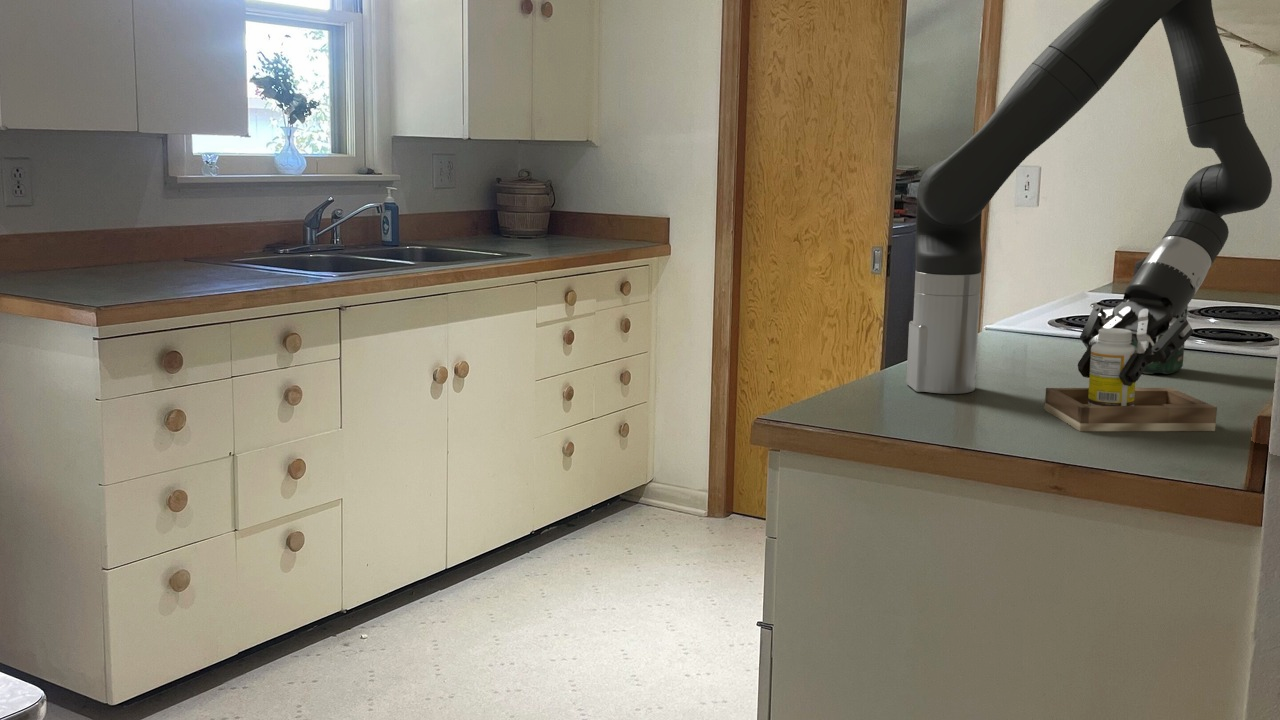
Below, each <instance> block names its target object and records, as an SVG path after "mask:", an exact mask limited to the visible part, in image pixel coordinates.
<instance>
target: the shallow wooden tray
mask: <svg viewBox="0 0 1280 720" xmlns="http://www.w3.org/2000/svg"><path fill="white" fill-rule="evenodd" d="M1088 394H1089V387H1046V388H1045V399H1044V410H1045V411H1046V412H1048V413H1049V412H1050V413H1049V414H1051V415H1052V414H1053V415H1052V416H1054V417H1056V418H1057V417H1058V418H1057V419H1059V420H1060V421H1062V422H1064V423H1065V424H1067V423H1068V424H1067V425H1069V426H1070V425H1071V426H1070V427H1072V428H1074V429H1075V430H1077V431H1078V432H1215V431H1216V425H1217V423H1216V422H1217V414H1218V413H1217V412H1218V407H1217V406H1214V405H1213V404H1211V403H1208V402H1205V401H1204V400H1200V399H1199V398H1196V397H1193V396H1191V395H1189V394H1187V393H1185V392H1182V391H1180V390H1178V389H1176V388H1175V389H1174V388H1173V387H1135V398H1134V406H1090V405H1089V403H1088Z"/></svg>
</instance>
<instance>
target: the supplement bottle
mask: <svg viewBox="0 0 1280 720" xmlns="http://www.w3.org/2000/svg"><path fill="white" fill-rule="evenodd" d="M1131 340H1132V331H1130V330H1127V329H1119V328H1103V329H1099V333H1098V342H1099V343H1096V344H1094V345H1093V346H1092V347H1091V358H1090V377H1089V378H1088V379H1089V380H1088V388H1089V394H1088V403H1089V405H1090V406H1134V398H1135V388H1136V382H1135V383H1133V384H1132V385H1131V386H1127V385H1124V384H1123V383H1122V381H1121V380H1120V378H1119V374H1120V372H1121V371H1122V369H1123V368H1124V366H1125V365H1126V363H1127V362H1128V360H1129V359H1130V357H1131V356H1132V354H1137V351H1136V350H1137V348H1136V347H1135V346H1134V345H1131V344H1130V343H1131Z"/></svg>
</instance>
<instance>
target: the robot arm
mask: <svg viewBox="0 0 1280 720" xmlns="http://www.w3.org/2000/svg"><path fill="white" fill-rule="evenodd" d="M1214 15H1215V14H1214V9H1213V2H1212V0H1098V1H1097V2H1095V3H1094V4H1093V5H1092V6H1091V7H1090V8H1089V9H1087V10H1086V11H1085V12H1084V13H1082V14H1081V15H1080V16H1079V17H1078V18H1077V19H1076V20H1074V21H1073V22H1072V23H1071V24H1070V25H1069V26H1068V27H1066V28H1065V30H1063V32H1062V33H1060V34H1059V35H1058V36H1057V37H1056V38H1055V39H1053V40H1052V42H1051V43H1050V44H1049V45H1047V47H1046V48H1044V50H1043V51H1041V53H1040V54H1039V55H1038V56H1037V57H1036V58H1035V59H1034V60H1033V61H1032V62H1031V63H1030V65H1029V66H1028V67H1027V68H1026V69H1025V70H1024V71H1023V73H1022V74H1021V75H1020V76H1019V77H1018V79H1017V80H1016V81H1015V82H1014V83H1013V85H1012V86H1011V88H1009V91H1008V92H1007V93H1006V94H1005V95H1004V97H1003V98H1002V100H1001V101H1000V103H999V104H998V106H997V108H996V109H995V110H994V112H993V113H992V115H991V116H990V117H989V119H988V120H987V121H986V122H985V123H984V125H982V126H981V128H980V129H978V130H977V132H976V133H974V134H973V135H972V136H971V137H970V138H968V140H967V141H965V142H964V143H963V144H962V145H961V146H960V147H959V148H958V149H956V150H955V151H954V152H953V153H952V154H950V155H949V156H948V157H947V158H946V159H944V160H940V161H938V162H935V163H934V164H932V165H931V166H930V167H928V168H927V169H926V170H925V172H924V173H923V174H922V176H921V178H920V181H919V183H918V186H917V193H916V194H917V197H916V212H915V213H916V218H915V240H914V242H915V243H914V244H915V245H914V247H915V275H914V277H915V278H914V292H913V293H914V294H913V296H914V297H913V315H912V316H913V319H912V320H910V321H909V323H908V341H907V342H908V344H907V361H906V362H907V364H906V365H907V366H906V382H905V383H906V384H907V385H908V386H909V387H910V388H911V389H912V390H914V392H917V393H918V392H919V393H922V392H923V393H924V392H926V393H932V394H933V393H934V394H946V395H947V394H948V395H949V394H950V395H951V394H953V395H955V394H966V393H972V392H974V391H975V389H976V388H975V387H976V378H977V373H976V372H977V355H978V339H979V338H978V337H979V319H980V305H981V303H980V301H981V286H982V284H981V283H982V268H983V265H982V264H983V254H982V253H983V252H982V238H981V237H982V236H981V235H982V218H983V217H982V215H983V214H982V213H983V210H984V209H985V207H987V205H988V204H989V202H990V201H991V200H992V199H993V197H994V196H995V195H996V193H997V192H998V191H999V190H1000V188H1001V187H1002V186H1003V184H1005V182H1006V181H1007V180H1008V179H1009V178H1010V176H1012V175H1013V173H1014V172H1015V170H1016V169H1017V168H1018V167H1019V166H1020V165H1021V163H1022V162H1024V161H1025V160H1026V159H1027V157H1029V156H1030V155H1031V154H1032V153H1033V152H1035V151H1036V150H1037V149H1038V148H1040V147H1041V146H1042V145H1043V144H1044V143H1045V142H1047V141H1048V140H1049V139H1050V138H1051V137H1052V136H1053V135H1055V134H1056V133H1057V132H1058V131H1059V130H1060V129H1061V128H1063V127H1064V125H1066V124H1067V123H1068V122H1069V121H1070V120H1071V119H1072V118H1073V117H1074V116H1075V115H1076V114H1077V113H1078V112H1079V111H1081V110H1082V109H1083V107H1084V106H1086V104H1087V103H1089V101H1091V99H1093V98H1094V96H1096V94H1097V93H1098V92H1100V91H1101V89H1102V88H1103V87H1104V86H1105V85H1106V84H1107V83H1108V82H1109V81H1110V80H1111V78H1112V77H1113V76H1114V74H1115V73H1116V72H1117V71H1118V70H1119V69H1120V67H1121V66H1122V65H1123V64H1124V62H1126V60H1127V59H1128V58H1129V57H1130V56H1131V54H1132V52H1133V51H1134V50H1135V49H1136V48H1137V47H1138V45H1139V44H1140V42H1141V41H1142V40H1143V38H1145V36H1146V35H1147V34H1148V33H1149V31H1150V30H1151V29H1152V28H1153V27H1154V25H1156V24H1157V23H1158V22H1159V21H1160V20H1161V22H1162V26H1163V28H1164V29H1163V30H1164V32H1165V35H1166V38H1167V42H1168V45H1169V49H1170V53H1171V58H1172V61H1173V66H1174V71H1175V75H1176V76H1175V77H1176V82H1177V86H1178V90H1179V91H1178V92H1179V97H1180V102H1181V107H1182V112H1183V117H1184V121H1185V127H1186V131H1187V135H1188V139H1189V141H1190V143H1191V145H1192V146H1193V147H1195V148H1198V149H1199V148H1200V149H1211V150H1213V151H1214V152H1215V155H1216V156H1217V158H1218V159H1219V161H1220V163H1216V164H1211V165H1208V166H1205V167H1203V168H1200V169H1199V170H1197V171H1196V172H1195V173H1194V174H1193V175H1192V176H1191V177H1190V178H1189V179H1188V180H1187V182H1186V184H1185V186H1184V188H1183V192H1182V193H1181V194H1182V195H1181V197H1180V201H1179V203H1178V207H1177V211H1176V215H1175V218H1174V221H1173V222H1172V223H1171V224H1170V226H1169V228H1167V231H1166V232H1165V234H1164V235H1163V237H1162V238H1161V240H1160V241H1159V242H1158V243H1157V244H1156V245H1155V246H1154V248H1153V249H1151V251H1150V252H1149V254H1148V255H1147V256H1146V257H1147V258H1146V257H1145V258H1146V260H1145V261H1144V263H1143V264H1142V266H1141V267H1140V269H1139V270H1138V272H1137V273H1136V274H1135V276H1133V277H1132V279H1131V280H1130V282H1129V283H1128V284H1127V286H1126V288H1125V289H1124V290H1125V291H1124V294H1123V299H1122V301H1121V302H1120V303H1118V305H1116V306H1115V307H1114V308H1113V309H1103V307H1102V306H1101V305H1096V306H1094V307H1093V308H1092V310H1091V312H1090V314H1089V316H1088V318H1087V320H1086V323H1085V325H1084V327H1083V329H1082V331H1081V334H1080V335H1079V339H1080V341H1081V342H1082V343H1083V345H1084V347H1085V348H1086V350H1085V352H1084V353H1083V355H1082V356H1081V358H1080V360H1079V361H1078V362H1077V369H1078V372H1079V373H1080V375H1081V376H1082V377H1083V378H1088V379H1089V377H1090V358H1091V347H1092V346H1093V345H1094V344H1096V343H1099V342H1098V333H1099V329H1103V328H1119V329H1127V330H1130V331H1132V340H1131V341H1135V342H1137V350H1136V351H1137V354H1132V356H1131V357H1130V359H1129V360H1128V362H1127V363H1126V365H1125V366H1124V368H1123V369H1122V371H1121V372H1120V374H1119V378H1120V380H1121V381H1122V383H1123V384H1124V385H1127V386H1131V385H1132V384H1133V383H1135V384H1136V382H1137V381H1138V380H1139V379H1140V377H1141V376H1142V374H1144V373H1143V371H1144V370H1145V368H1146V367H1147V365H1150V364H1152V363H1153V362H1157V361H1159V363H1161V364H1164V363H1166V362H1167V361H1168V360H1169V359H1170V358H1171V357H1172V356H1173V355H1174V354H1175V353H1176V351H1177V350H1178V349H1179V348H1180V347H1181V346H1182V345H1183V344H1184V345H1185V343H1186V342H1187V340H1188V339H1189V338H1190V337H1191V336H1192V335H1193V333H1194V329H1193V328H1192V326H1191V324H1190V322H1189V321H1188V318H1187V319H1186V318H1185V317H1180V316H1181V315H1182V313H1183V312H1184V310H1185V309H1186V307H1187V305H1188V306H1189V304H1190V302H1191V301H1192V299H1193V298H1194V296H1195V295H1196V293H1197V292H1198V290H1199V288H1200V287H1201V286H1202V284H1203V282H1205V279H1206V277H1207V275H1208V272H1209V270H1210V268H1211V267H1212V265H1213V264H1214V262H1215V260H1216V258H1217V257H1218V255H1219V254H1220V252H1221V251H1222V249H1223V248H1224V246H1225V244H1226V243H1227V240H1228V237H1229V227H1228V224H1227V223H1226V221H1225V220H1224V219H1223V218H1222V217H1223V216H1227V215H1233V214H1237V213H1243V212H1247V211H1253V210H1255V209H1256V210H1257V209H1259V208H1261V207H1262V206H1263V205H1264V204H1266V202H1267V201H1268V199H1269V198H1270V195H1271V192H1272V187H1273V186H1272V185H1273V183H1272V182H1273V177H1272V173H1271V170H1270V166H1269V164H1268V162H1267V160H1266V158H1265V156H1264V154H1263V153H1262V150H1261V148H1260V147H1259V144H1258V143H1257V141H1256V139H1255V137H1254V135H1253V133H1252V132H1251V130H1250V129H1249V126H1248V124H1247V122H1246V118H1245V113H1244V107H1243V103H1242V98H1241V94H1240V93H1241V92H1240V88H1239V84H1238V80H1237V76H1236V72H1235V70H1234V67H1233V64H1232V62H1231V60H1230V57H1229V55H1228V53H1227V50H1226V48H1225V46H1224V44H1223V42H1222V39H1221V37H1220V34H1219V31H1218V27H1217V24H1216V20H1215V16H1214ZM1164 332H1165V333H1164ZM1163 333H1164V334H1163ZM1161 334H1163V336H1162V337H1161V338H1160V339H1159V340H1158V337H1159V336H1160V335H1161ZM1184 342H1185V343H1184ZM1167 345H1168V346H1167ZM1166 346H1167V348H1166V349H1165V350H1163V349H1164V348H1165V347H1166Z"/></svg>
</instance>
